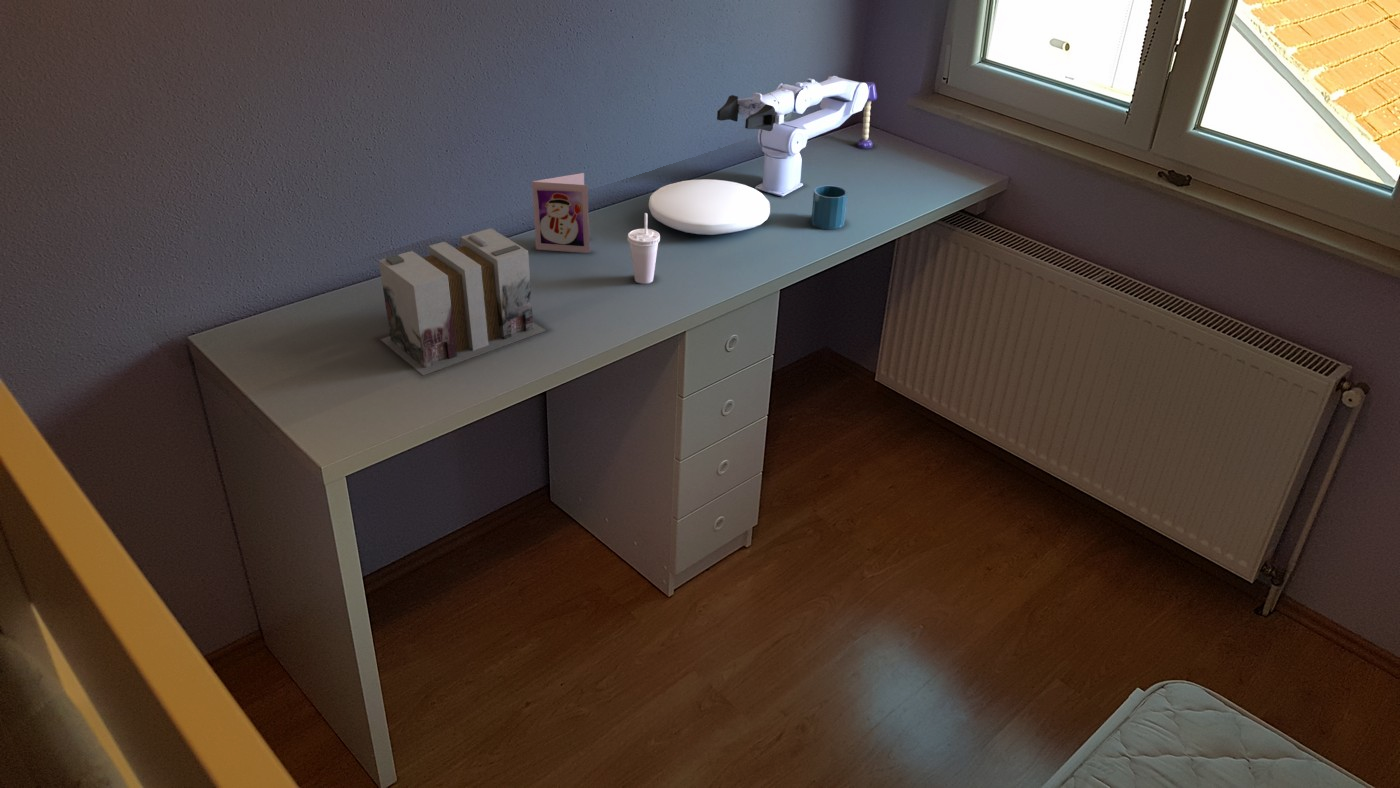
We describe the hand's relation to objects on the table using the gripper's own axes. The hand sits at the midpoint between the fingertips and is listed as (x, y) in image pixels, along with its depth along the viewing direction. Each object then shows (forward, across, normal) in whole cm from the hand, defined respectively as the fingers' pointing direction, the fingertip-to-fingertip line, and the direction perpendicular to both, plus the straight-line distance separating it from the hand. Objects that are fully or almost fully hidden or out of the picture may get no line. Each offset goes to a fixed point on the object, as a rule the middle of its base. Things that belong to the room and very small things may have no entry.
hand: (732, 119), depth 232 cm
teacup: (-11, +21, +21) cm, 31 cm away
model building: (+76, -2, +24) cm, 80 cm away
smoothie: (+38, +8, +23) cm, 45 cm away
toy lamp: (-60, 0, +20) cm, 63 cm away
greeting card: (+36, -15, +23) cm, 46 cm away
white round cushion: (+5, -1, +22) cm, 23 cm away
